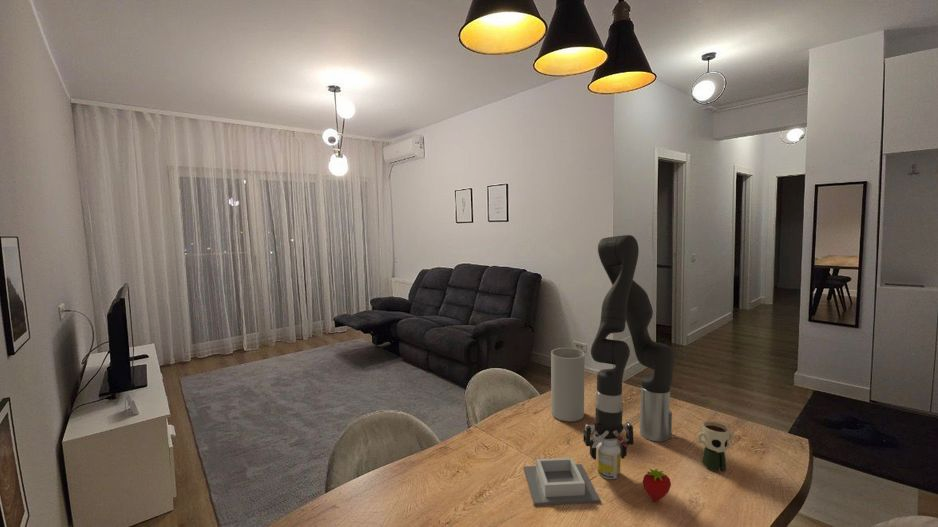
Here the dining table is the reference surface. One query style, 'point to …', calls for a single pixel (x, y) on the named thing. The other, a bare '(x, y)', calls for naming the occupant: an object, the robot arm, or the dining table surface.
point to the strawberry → (656, 484)
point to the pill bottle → (609, 458)
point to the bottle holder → (559, 482)
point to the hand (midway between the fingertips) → (607, 457)
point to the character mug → (715, 444)
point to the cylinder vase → (567, 384)
